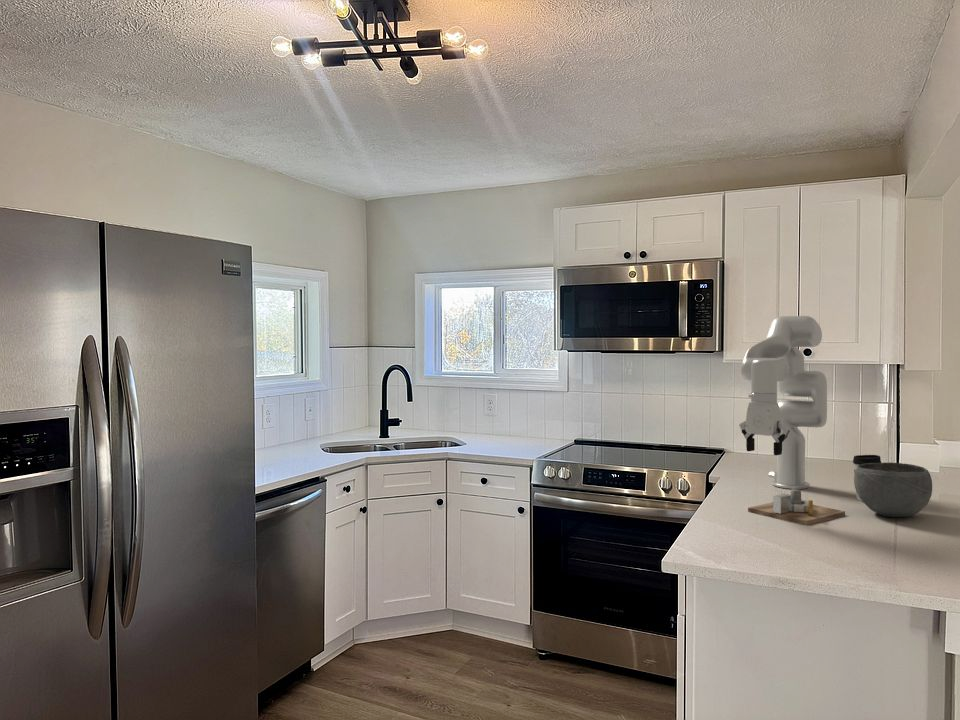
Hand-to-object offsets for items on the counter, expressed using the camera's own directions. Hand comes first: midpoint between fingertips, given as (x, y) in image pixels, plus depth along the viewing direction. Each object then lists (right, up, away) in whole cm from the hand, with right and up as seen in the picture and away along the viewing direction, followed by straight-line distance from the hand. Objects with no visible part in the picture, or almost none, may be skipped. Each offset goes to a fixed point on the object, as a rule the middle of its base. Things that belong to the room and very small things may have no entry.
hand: (763, 452), depth 222 cm
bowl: (+38, -19, -5) cm, 42 cm away
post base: (+9, -19, -2) cm, 21 cm away
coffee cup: (+40, -18, +15) cm, 47 cm away
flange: (+7, -17, -3) cm, 19 cm away
